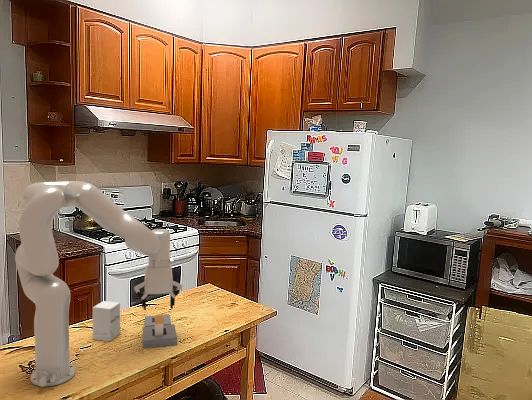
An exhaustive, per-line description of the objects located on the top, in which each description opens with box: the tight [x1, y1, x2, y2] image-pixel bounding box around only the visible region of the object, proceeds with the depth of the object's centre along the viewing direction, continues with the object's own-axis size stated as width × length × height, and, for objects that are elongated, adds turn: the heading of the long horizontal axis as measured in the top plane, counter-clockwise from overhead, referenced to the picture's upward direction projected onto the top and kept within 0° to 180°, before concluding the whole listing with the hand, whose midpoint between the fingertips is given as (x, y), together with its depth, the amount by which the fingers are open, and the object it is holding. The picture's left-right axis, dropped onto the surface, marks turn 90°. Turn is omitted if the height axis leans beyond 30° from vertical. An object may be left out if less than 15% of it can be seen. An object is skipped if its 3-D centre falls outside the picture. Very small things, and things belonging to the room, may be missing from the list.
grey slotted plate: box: [144, 313, 172, 327], centre depth 176 cm, size 10×10×2 cm
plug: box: [154, 313, 164, 336], centre depth 163 cm, size 4×3×9 cm
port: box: [142, 323, 178, 349], centre depth 163 cm, size 12×12×3 cm
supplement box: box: [92, 300, 121, 342], centre depth 164 cm, size 7×7×13 cm
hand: (158, 308), depth 161 cm, fingers open, 9 cm apart
